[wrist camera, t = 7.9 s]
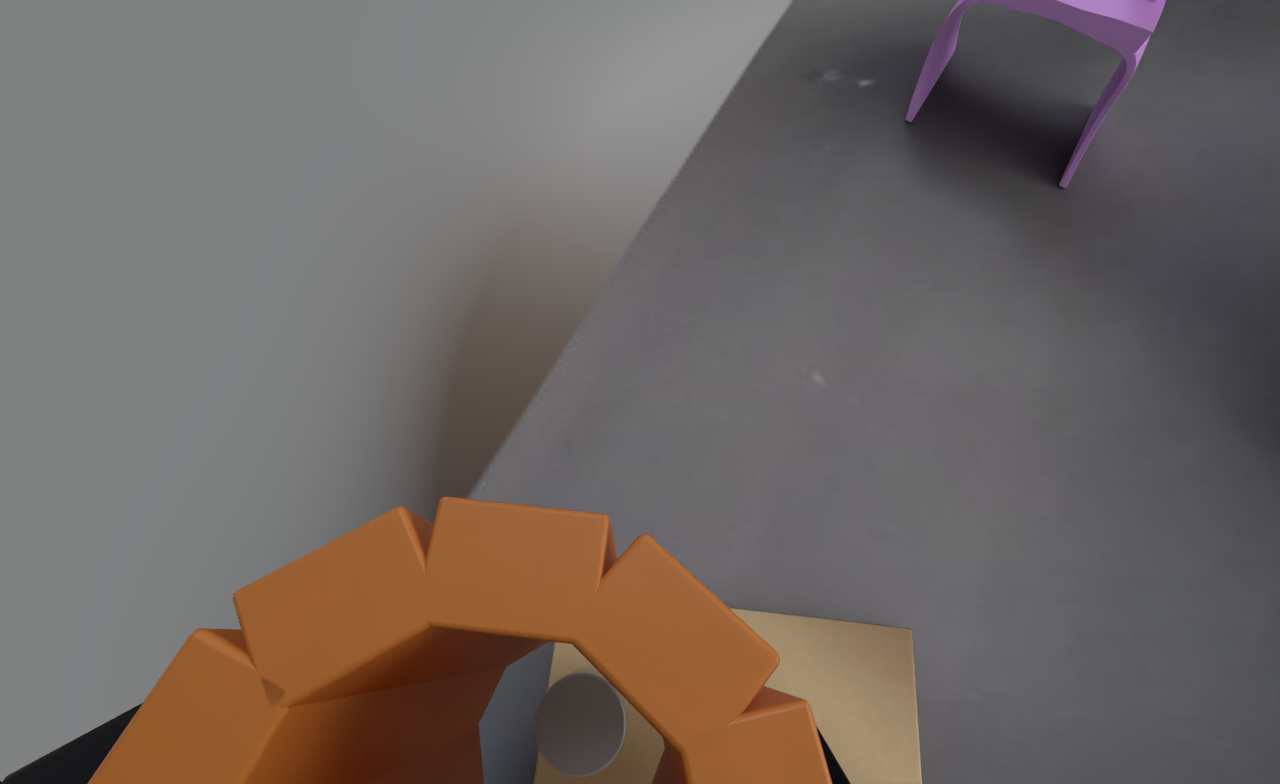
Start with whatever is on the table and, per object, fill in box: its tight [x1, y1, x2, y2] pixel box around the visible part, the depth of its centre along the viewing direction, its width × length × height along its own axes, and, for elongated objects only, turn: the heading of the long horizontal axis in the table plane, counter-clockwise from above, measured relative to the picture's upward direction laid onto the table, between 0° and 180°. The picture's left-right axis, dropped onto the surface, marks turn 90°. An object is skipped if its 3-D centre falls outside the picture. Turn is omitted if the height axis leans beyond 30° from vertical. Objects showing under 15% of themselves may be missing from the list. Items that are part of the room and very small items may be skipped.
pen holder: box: [88, 497, 832, 784], centre depth 9 cm, size 6×7×10 cm
